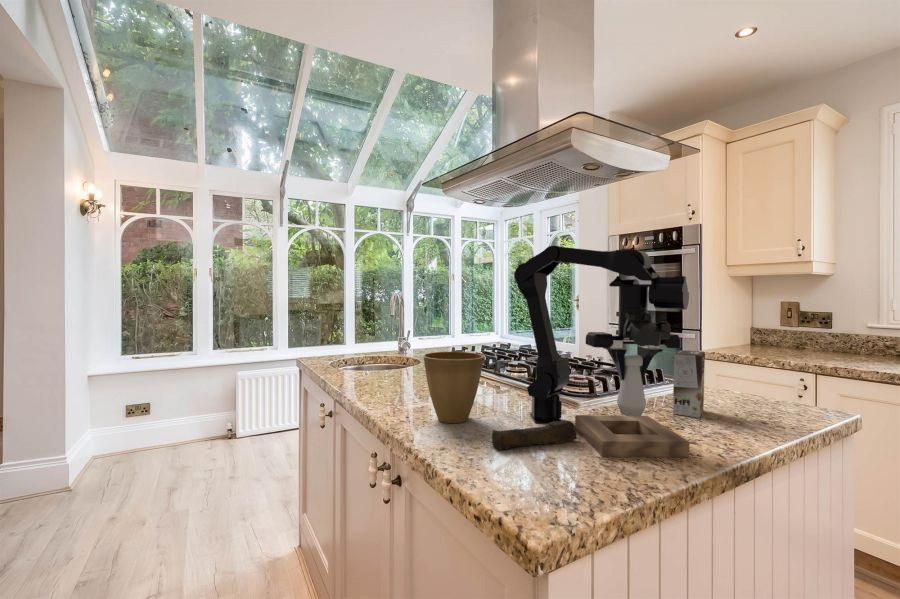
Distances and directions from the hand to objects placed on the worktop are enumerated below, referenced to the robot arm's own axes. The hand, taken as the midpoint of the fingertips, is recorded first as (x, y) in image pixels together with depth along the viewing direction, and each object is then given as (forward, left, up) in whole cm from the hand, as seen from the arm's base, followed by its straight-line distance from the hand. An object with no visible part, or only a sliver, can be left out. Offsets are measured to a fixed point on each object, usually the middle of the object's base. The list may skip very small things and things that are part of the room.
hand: (631, 379), depth 92 cm
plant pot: (-38, +13, -13) cm, 43 cm away
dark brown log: (-22, -3, -13) cm, 26 cm away
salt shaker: (0, 0, -8) cm, 8 cm away
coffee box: (+25, +20, -13) cm, 34 cm away
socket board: (-1, -2, -13) cm, 13 cm away
